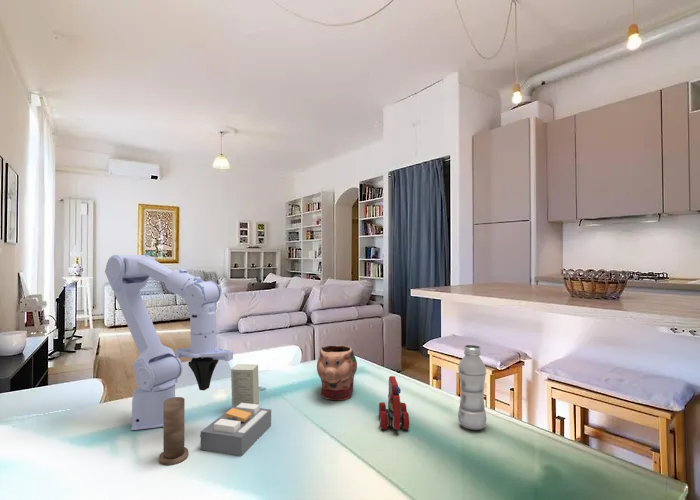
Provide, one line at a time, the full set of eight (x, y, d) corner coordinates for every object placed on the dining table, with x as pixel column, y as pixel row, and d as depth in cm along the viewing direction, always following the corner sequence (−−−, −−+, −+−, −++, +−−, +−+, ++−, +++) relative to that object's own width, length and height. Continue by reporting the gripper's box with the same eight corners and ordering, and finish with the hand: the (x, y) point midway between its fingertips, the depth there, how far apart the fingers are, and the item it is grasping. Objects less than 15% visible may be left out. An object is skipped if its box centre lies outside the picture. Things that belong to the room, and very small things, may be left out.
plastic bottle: (488, 435, 88) (489, 351, 88) (458, 432, 90) (459, 349, 89) (484, 422, 95) (484, 344, 94) (456, 419, 96) (457, 342, 96)
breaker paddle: (224, 419, 86) (225, 413, 86) (231, 413, 89) (232, 407, 89) (243, 425, 85) (244, 418, 85) (250, 419, 88) (251, 412, 88)
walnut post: (156, 467, 75) (156, 407, 75) (162, 452, 80) (162, 397, 80) (186, 463, 76) (186, 404, 76) (190, 448, 82) (190, 394, 82)
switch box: (200, 449, 81) (200, 425, 81) (235, 420, 95) (235, 399, 95) (241, 456, 79) (241, 430, 79) (271, 425, 92) (271, 403, 92)
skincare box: (259, 408, 102) (259, 364, 102) (253, 415, 98) (253, 369, 98) (237, 407, 103) (237, 363, 103) (230, 414, 98) (230, 368, 98)
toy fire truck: (381, 436, 88) (381, 392, 88) (378, 412, 100) (378, 374, 100) (411, 436, 88) (411, 392, 87) (404, 413, 100) (404, 374, 100)
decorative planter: (321, 380, 124) (321, 338, 124) (357, 381, 123) (357, 339, 123) (312, 406, 104) (312, 356, 104) (356, 407, 103) (356, 357, 103)
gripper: (165, 334, 87) (166, 392, 87) (220, 337, 83) (221, 397, 83) (185, 328, 94) (186, 382, 94) (237, 330, 90) (238, 386, 90)
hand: (204, 388), depth 89 cm, fingers closed
